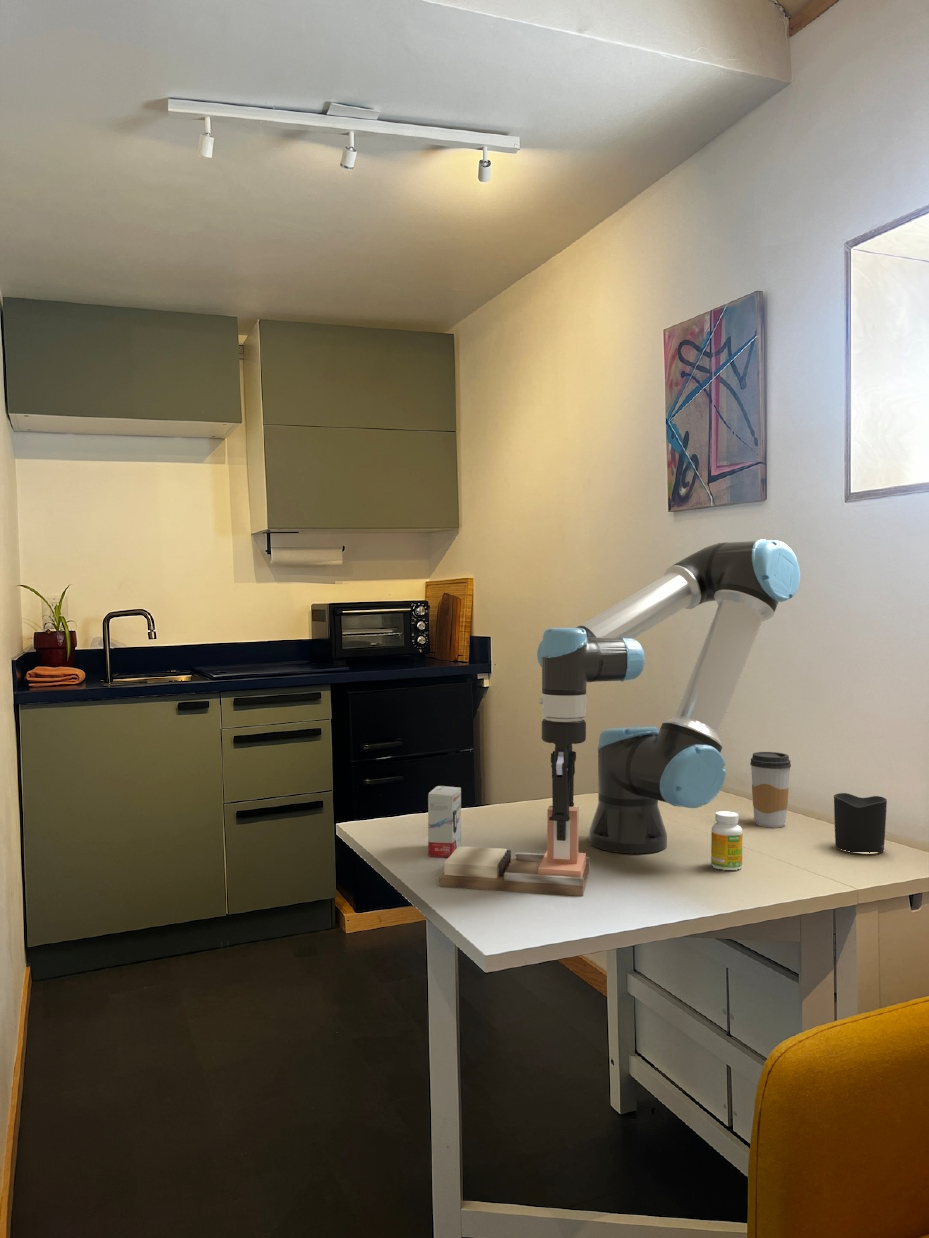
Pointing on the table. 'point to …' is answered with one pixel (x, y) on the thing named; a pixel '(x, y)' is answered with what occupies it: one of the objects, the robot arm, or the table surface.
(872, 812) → the pen holder
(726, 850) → the supplement bottle
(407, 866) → the table surface
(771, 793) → the coffee cup
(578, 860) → the stub
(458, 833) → the ink box
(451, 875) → the board
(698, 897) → the table surface
